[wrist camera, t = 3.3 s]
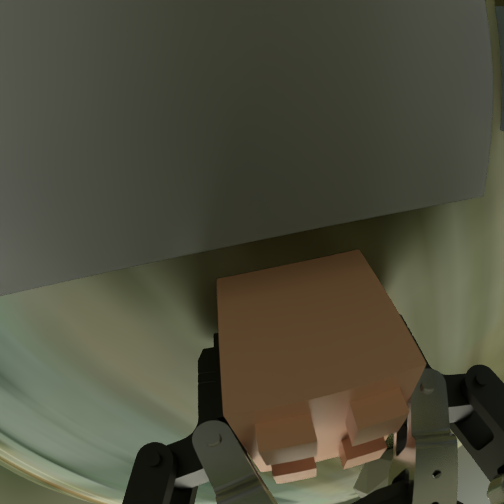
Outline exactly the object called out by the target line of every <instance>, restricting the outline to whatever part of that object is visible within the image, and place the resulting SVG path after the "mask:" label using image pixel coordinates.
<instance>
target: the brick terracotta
mask: <svg viewBox="0 0 504 504" xmlns="http://www.w3.org/2000/svg"><path fill="white" fill-rule="evenodd" d="M217 306H218V331H219V352H220V371H221V388H222V404H223V416H224V417H225V419H226V420H227V422H228V424H229V425H230V427H231V428H232V430H233V431H234V433H235V434H236V436H237V437H238V439H239V440H240V442H241V443H242V445H243V446H244V448H245V449H246V451H247V452H248V454H249V455H250V457H251V458H252V460H253V461H254V463H255V464H256V465H257V467H258V468H259V470H260V471H261V472H266V471H272V474H273V478H274V479H275V481H276V483H277V484H280V483H286V482H291V481H296V480H301V479H306V478H311V477H315V476H316V469H317V468H316V464H315V462H318V461H322V460H326V459H330V458H334V457H338V456H340V459H341V462H342V466H343V469H347V468H350V467H354V466H357V465H360V464H364V463H367V462H370V461H373V460H376V459H379V458H380V457H381V456H382V454H383V453H384V452H385V450H386V449H387V445H386V442H385V441H386V439H387V437H388V436H389V435H390V434H392V433H395V432H398V431H399V429H400V428H401V426H402V425H403V423H404V421H405V420H406V418H407V416H408V415H409V413H410V411H409V408H408V406H407V403H408V401H409V399H410V397H411V395H412V393H413V391H414V389H415V387H416V385H417V383H418V381H419V379H420V377H421V375H422V373H423V371H424V368H425V366H426V364H427V363H426V361H425V360H424V358H423V356H422V354H421V352H420V350H419V348H418V347H417V345H416V343H415V341H414V339H413V337H412V336H411V334H410V332H409V330H408V328H407V327H406V325H405V323H404V321H403V320H402V318H401V316H400V315H399V313H398V311H397V309H396V308H395V306H394V304H393V303H392V301H391V299H390V298H389V296H388V294H387V293H386V291H385V289H384V288H383V286H382V284H381V283H380V281H379V280H378V278H377V276H376V275H375V273H374V272H373V270H372V269H371V267H370V265H369V264H368V262H367V261H366V259H365V258H364V256H363V255H362V253H361V251H360V250H359V249H357V250H353V251H348V252H344V253H339V254H334V255H330V256H325V257H321V258H316V259H311V260H306V261H302V262H297V263H292V264H287V265H283V266H278V267H273V268H268V269H263V270H258V271H253V272H248V273H244V274H239V275H234V276H229V277H224V278H219V279H217Z"/></svg>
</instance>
